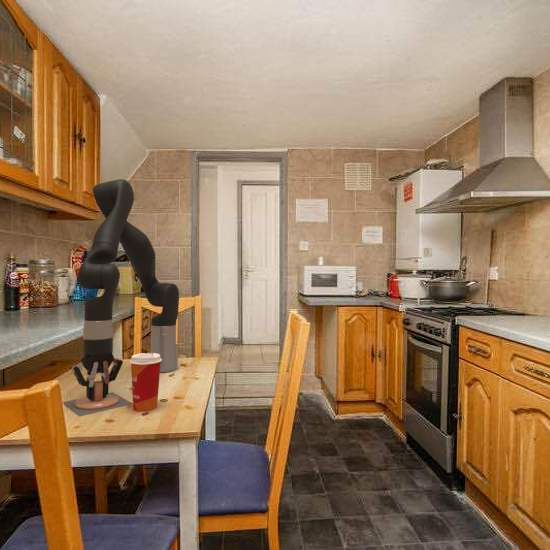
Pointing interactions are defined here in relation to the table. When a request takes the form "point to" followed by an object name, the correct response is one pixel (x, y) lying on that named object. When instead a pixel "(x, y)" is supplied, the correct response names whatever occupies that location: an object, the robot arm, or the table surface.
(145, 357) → the coffee cup
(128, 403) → the mat
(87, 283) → the robot arm
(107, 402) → the lid
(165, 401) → the table surface
